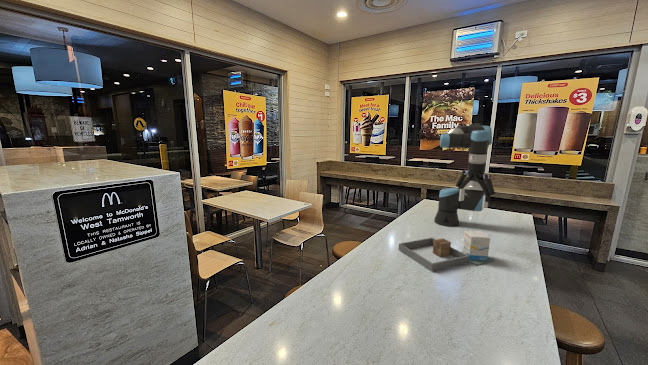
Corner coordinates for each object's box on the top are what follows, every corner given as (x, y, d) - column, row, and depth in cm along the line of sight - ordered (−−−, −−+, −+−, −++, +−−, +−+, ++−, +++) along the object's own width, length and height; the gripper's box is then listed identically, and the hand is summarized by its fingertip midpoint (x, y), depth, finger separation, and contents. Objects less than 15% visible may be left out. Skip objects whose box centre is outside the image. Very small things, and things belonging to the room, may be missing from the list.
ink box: (488, 261, 126) (490, 237, 124) (468, 260, 127) (471, 236, 125) (480, 253, 134) (482, 230, 132) (462, 252, 136) (464, 230, 133)
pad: (455, 254, 134) (455, 253, 134) (472, 250, 138) (472, 249, 138) (476, 265, 123) (476, 264, 123) (494, 261, 127) (494, 260, 127)
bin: (398, 249, 139) (398, 243, 139) (431, 243, 147) (431, 237, 147) (431, 271, 118) (432, 264, 117) (468, 263, 126) (469, 256, 125)
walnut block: (432, 253, 136) (433, 240, 135) (441, 251, 138) (443, 238, 137) (440, 257, 131) (441, 244, 130) (449, 255, 134) (450, 242, 132)
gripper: (450, 159, 142) (447, 198, 147) (496, 166, 119) (490, 212, 124) (461, 159, 145) (457, 197, 149) (507, 165, 122) (501, 210, 127)
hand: (472, 204), depth 137 cm, fingers open, 13 cm apart
